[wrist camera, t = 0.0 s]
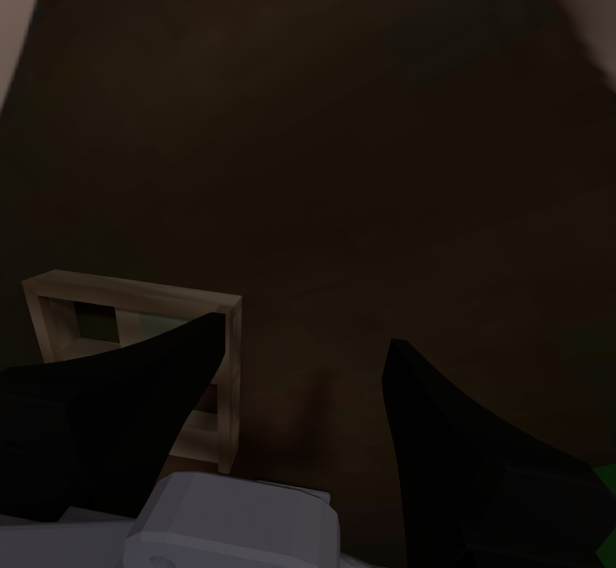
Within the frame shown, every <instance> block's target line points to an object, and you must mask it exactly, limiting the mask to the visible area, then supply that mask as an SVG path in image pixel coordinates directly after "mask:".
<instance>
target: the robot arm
mask: <svg viewBox="0 0 616 568" xmlns="http://www.w3.org/2000/svg"><path fill="white" fill-rule="evenodd" d="M225 353H226V314H223V313H217V312H210V313H207V314H205V315H203V316H200V317H198V318H196V319H194V320H192V321H190V322H187V323H185V324H183V325H181V326H179V327H176V328H174V329H172V330H169V331H167V332H165V333H162V334H160V335H157V336H155V337H152V338H150V339H147V340H144V341H141V342H138V343H135V344H132V345H129V346H126V347H123V348H119V349H115V350H111V351H107V352H103V353H99V354H95V355H91V356H86V357H81V358H76V359H70V360H65V361H59V362H52V363H45V364H36V365H28V366H20V367H10V368H7V369H5V370H4V371H2V372H0V568H384V567H379V566H374V565H370V564H368V563H365V562H363V561H361V560H358V559H356V558H354V557H351V556H349V555H347V554H344V553H342V552H340V527H339V521H338V516H337V513H336V512H335V511H334V510H333V509H332V508H331V507H330V506H329V502H330V494H329V493H327V492H322V491H317V490H311V489H306V488H300V487H295V486H289V485H284V484H278V483H273V482H267V481H262V480H258V481H252V480H247V479H241V478H236V477H230V476H225V475H219V474H214V473H208V472H203V471H177V472H174V473H172V474H170V475H169V476H167V477H165V478H163V479H161V480H160V481H159V482H158V484H157V485H156V487H155V489H154V491H153V492H152V494H151V491H152V489H153V487H154V485H155V483H156V480H157V478H158V476H159V474H160V472H161V469H162V467H163V465H164V463H165V461H166V459H167V457H168V455H169V453H170V451H171V449H172V447H173V445H174V443H175V441H176V439H177V437H178V435H179V433H180V431H181V429H182V427H183V425H184V423H185V422H186V420H187V418H188V417H189V415H190V413H191V412H192V410H193V409H194V407H195V406H196V404H197V403H198V401H199V399H200V398H201V396H202V395H203V393H204V392H205V390H206V389H207V387H208V385H209V384H210V382H211V381H212V379H213V378H214V376H215V374H216V373H217V371H218V369H219V367H220V365H221V362H222V360H223V358H224V356H225ZM382 385H383V396H384V403H385V407H386V412H387V416H388V421H389V425H390V429H391V434H392V438H393V442H394V447H395V451H396V457H397V463H398V471H399V479H400V487H401V496H402V506H403V515H404V526H405V538H406V549H407V562H408V568H605V566H604V565H603V563H602V562H601V560H600V559H599V557H598V556H597V554H596V553H595V552H596V551H597V550H598V549H599V547H600V546H601V545H602V544H603V542H604V541H605V540H606V539H607V538H608V536H609V535H610V534H611V533H612V531H613V530H614V528H615V527H616V497H615V495H614V494H613V493H612V492H611V491H610V489H609V488H608V487H607V486H606V485H605V484H604V482H603V481H602V480H601V479H600V478H599V476H598V475H597V474H596V473H595V472H594V470H593V469H592V468H591V467H590V466H589V464H587V463H585V462H583V461H581V460H579V459H577V458H575V457H573V456H571V455H568V454H566V453H564V452H562V451H560V450H558V449H556V448H554V447H552V446H550V445H547V444H545V443H544V442H542V441H540V440H538V439H536V438H534V437H532V436H531V435H529V434H527V433H525V432H523V431H521V430H520V429H518V428H516V427H514V426H513V425H511V424H509V423H508V422H506V421H504V420H503V419H501V418H500V417H498V416H496V415H495V414H493V413H492V412H490V411H489V410H487V409H486V408H484V407H483V406H481V405H480V404H478V403H477V402H476V401H474V400H473V399H472V398H470V397H469V396H467V395H466V394H465V393H463V392H462V391H461V390H460V389H458V388H457V387H456V386H455V385H454V384H452V383H451V382H450V381H449V380H448V379H447V378H445V377H444V376H443V375H442V374H441V373H440V372H439V371H438V370H437V369H435V368H434V367H433V366H432V365H431V364H430V363H429V362H428V361H427V360H426V359H425V358H424V357H423V356H422V355H421V354H420V353H419V352H418V351H417V350H416V349H415V348H414V347H413V346H412V345H411V344H410V343H409V342H408V341H406V340H400V339H393V338H392V339H391V343H390V347H389V351H388V355H387V359H386V363H385V367H384V371H383V375H382ZM150 494H151V496H150ZM149 496H150V497H149ZM148 498H149V499H148ZM147 500H148V501H147Z"/></svg>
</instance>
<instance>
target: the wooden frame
mask: <svg viewBox="0 0 616 568" xmlns="http://www.w3.org/2000/svg"><path fill="white" fill-rule="evenodd" d="M21 282H22V285H23V289H24V292H25V296H26V299H27V303H28V306H29V310H30V313H31V317H32V321H33V324H34V328H35V331H36V335H37V338H38V342H39V345H40V349H41V353H42V356H43V360H44V363H52V362H59V361H65V360H70V359H76V358H81V357H86V356H91V355H95V354H99V353H103V352H107V351H111V350H115V349H119V348H123V347H126V346H129V345H132V344H135V343H138V342H141V341H144V340H147V339H150V338H152V337H155V336H157V335H160V334H162V333H165V332H167V331H169V330H172V329H174V328H176V327H179V326H181V325H183V324H185V323H187V322H190V321H192V320H194V319H196V318H198V317H200V316H203V315H205V314H207V313H210V312H217V313H223V314H226V353H225V356H224V358H223V360H222V362H221V365H220V367H219V369H218V371H217V373H216V374H215V376H214V378H213V379H212V381H211V382H210V383H211V384H217V413H218V414H214V413H208V412H202V411H196V410H192V412H191V413H190V415H189V417H188V418H187V420H186V422H185V423H184V425H183V427H182V429H181V431H180V433H179V435H178V437H177V439H176V441H175V443H174V445H173V447H172V449H171V451H170V453H169V455H175V456H180V457H186V458H192V459H197V460H203V461H208V462H214V463H218V472H222V473H227V474H229V472H230V469H231V466H232V464H233V461H234V458H235V456H236V453H237V450H238V448H239V409H240V364H241V319H242V296H238V295H231V294H224V293H217V292H210V291H203V290H196V289H189V288H182V287H175V286H168V285H161V284H154V283H147V282H140V281H133V280H126V279H119V278H112V277H105V276H98V275H91V274H84V273H77V272H70V271H63V270H53V271H50V272H47V273H44V274H41V275H38V276H35V277H32V278H29V279H26V280H23V281H21ZM73 301H79V302H86V303H93V304H99V305H106V306H113V307H115V313H116V319H117V326H118V332H119V338H120V344H119V343H112V342H106V341H100V340H93V339H87V338H81V334H80V330H79V325H78V320H77V316H76V311H75V307H74V302H73Z"/></svg>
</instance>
